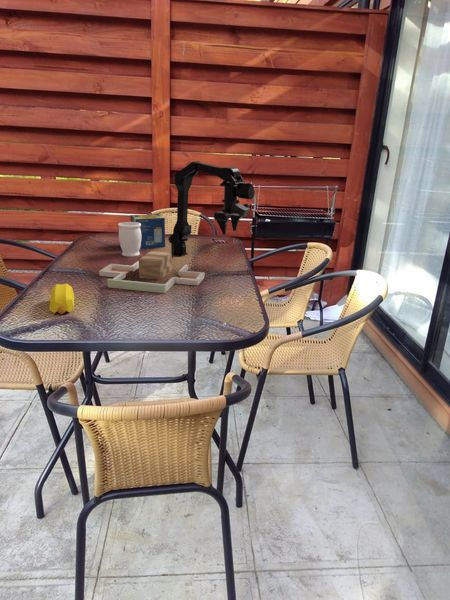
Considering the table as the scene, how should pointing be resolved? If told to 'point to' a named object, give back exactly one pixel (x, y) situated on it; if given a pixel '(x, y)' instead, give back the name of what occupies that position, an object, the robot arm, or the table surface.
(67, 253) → the table surface
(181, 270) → the white flat frame
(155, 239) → the protein box
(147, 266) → the oak block
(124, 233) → the jar
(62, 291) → the yellow arch block
